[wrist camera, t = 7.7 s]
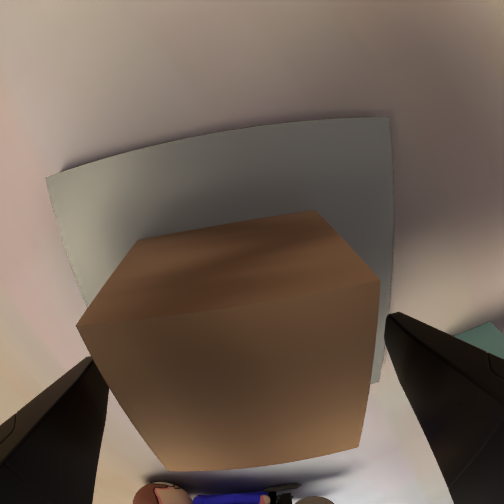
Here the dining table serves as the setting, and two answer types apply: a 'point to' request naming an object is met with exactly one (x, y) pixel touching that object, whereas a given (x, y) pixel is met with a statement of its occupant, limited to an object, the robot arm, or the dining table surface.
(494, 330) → the teal block
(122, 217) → the base plate
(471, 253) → the dining table surface
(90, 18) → the dining table surface
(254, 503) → the figurine character
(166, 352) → the walnut block
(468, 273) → the dining table surface
